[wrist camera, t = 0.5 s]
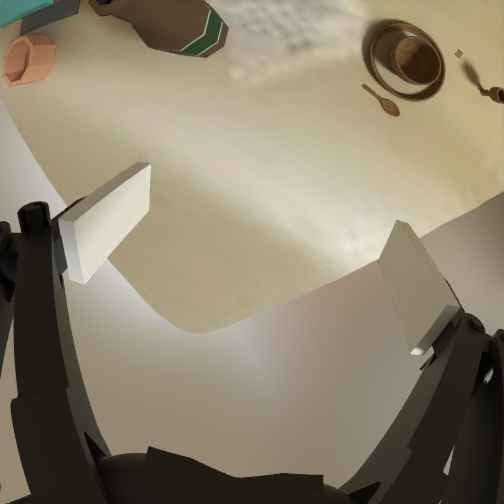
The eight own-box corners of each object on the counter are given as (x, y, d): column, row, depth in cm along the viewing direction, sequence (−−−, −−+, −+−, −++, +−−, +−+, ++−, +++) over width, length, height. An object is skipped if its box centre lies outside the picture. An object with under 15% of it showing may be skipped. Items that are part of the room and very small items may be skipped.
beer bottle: (171, 20, 30) (61, -20, 10) (225, 5, 28) (153, -69, 8) (181, 65, 34) (69, 59, 14) (234, 52, 32) (167, 13, 12)
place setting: (402, -1, 24) (418, -11, 19) (490, 90, 28) (512, 95, 23) (340, 76, 33) (349, 74, 28) (437, 163, 37) (455, 175, 32)
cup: (26, 42, 30) (5, 44, 25) (57, 31, 29) (34, 30, 24) (24, 84, 35) (2, 89, 30) (53, 77, 34) (30, 80, 29)
